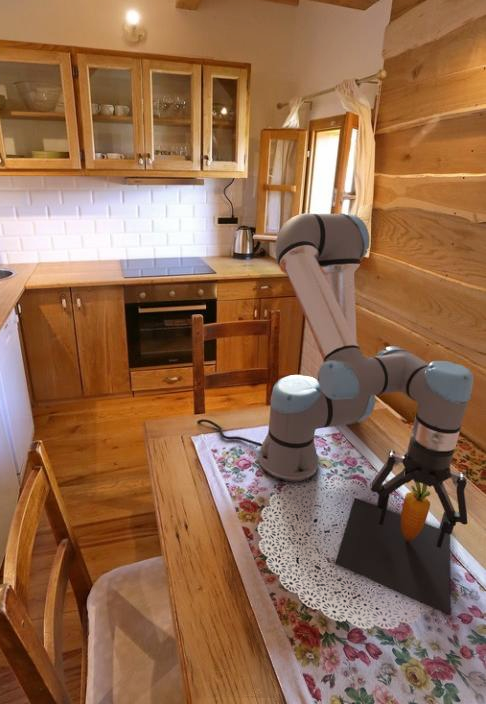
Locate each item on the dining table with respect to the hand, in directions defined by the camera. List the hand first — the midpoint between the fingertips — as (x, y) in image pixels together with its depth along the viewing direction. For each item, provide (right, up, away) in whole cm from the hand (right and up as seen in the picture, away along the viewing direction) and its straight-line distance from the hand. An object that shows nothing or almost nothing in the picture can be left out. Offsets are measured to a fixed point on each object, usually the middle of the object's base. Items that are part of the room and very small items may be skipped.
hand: (409, 531), depth 84 cm
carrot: (0, -3, +1) cm, 3 cm away
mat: (-3, -3, -1) cm, 4 cm away
